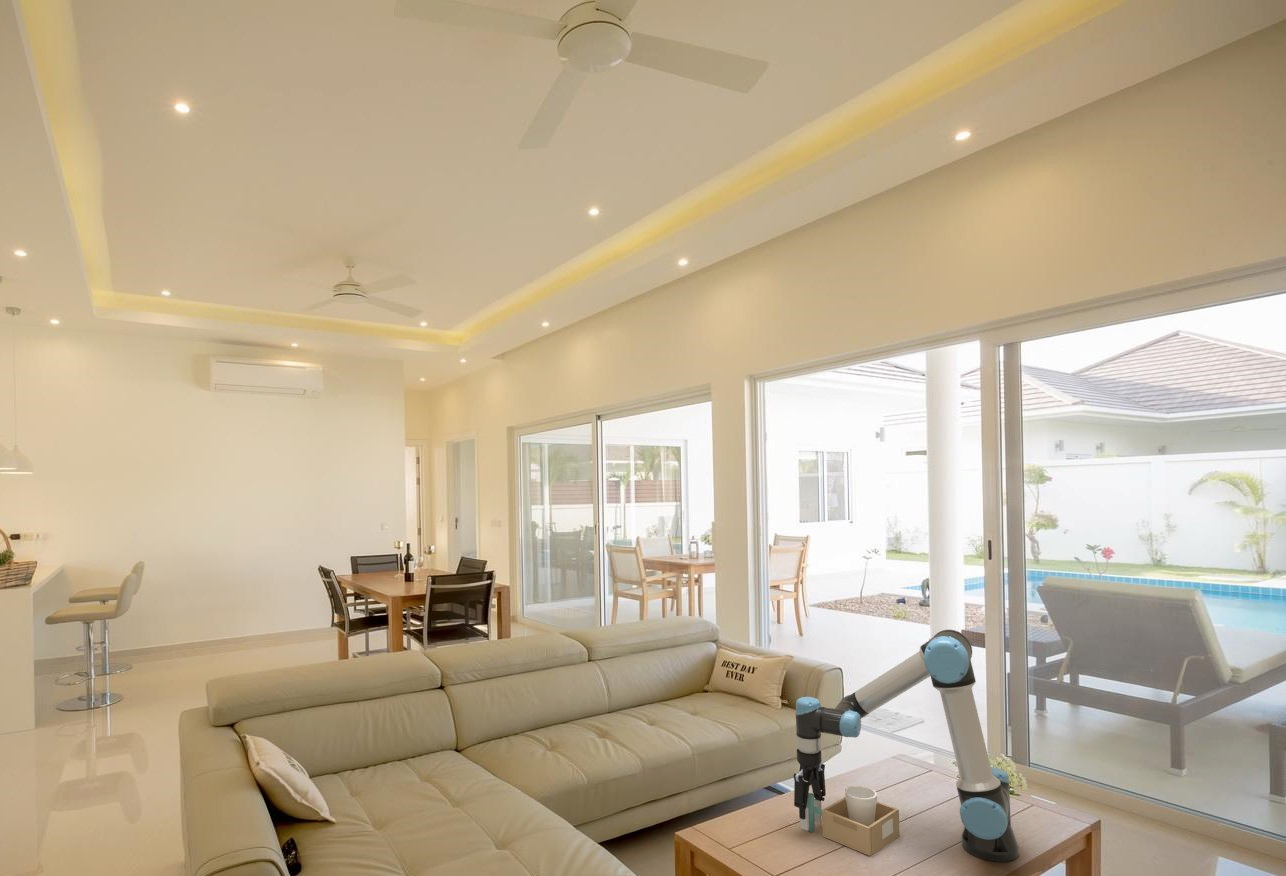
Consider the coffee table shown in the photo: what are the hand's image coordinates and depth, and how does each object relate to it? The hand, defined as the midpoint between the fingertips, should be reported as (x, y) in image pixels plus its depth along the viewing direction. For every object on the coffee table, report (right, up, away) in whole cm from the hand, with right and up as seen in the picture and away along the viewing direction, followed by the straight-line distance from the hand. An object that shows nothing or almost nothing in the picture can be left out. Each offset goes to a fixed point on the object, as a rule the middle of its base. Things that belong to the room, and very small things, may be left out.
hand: (810, 824), depth 226 cm
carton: (+15, -2, -3) cm, 15 cm away
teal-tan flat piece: (+7, -1, -7) cm, 10 cm away
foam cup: (+15, -2, -3) cm, 15 cm away
